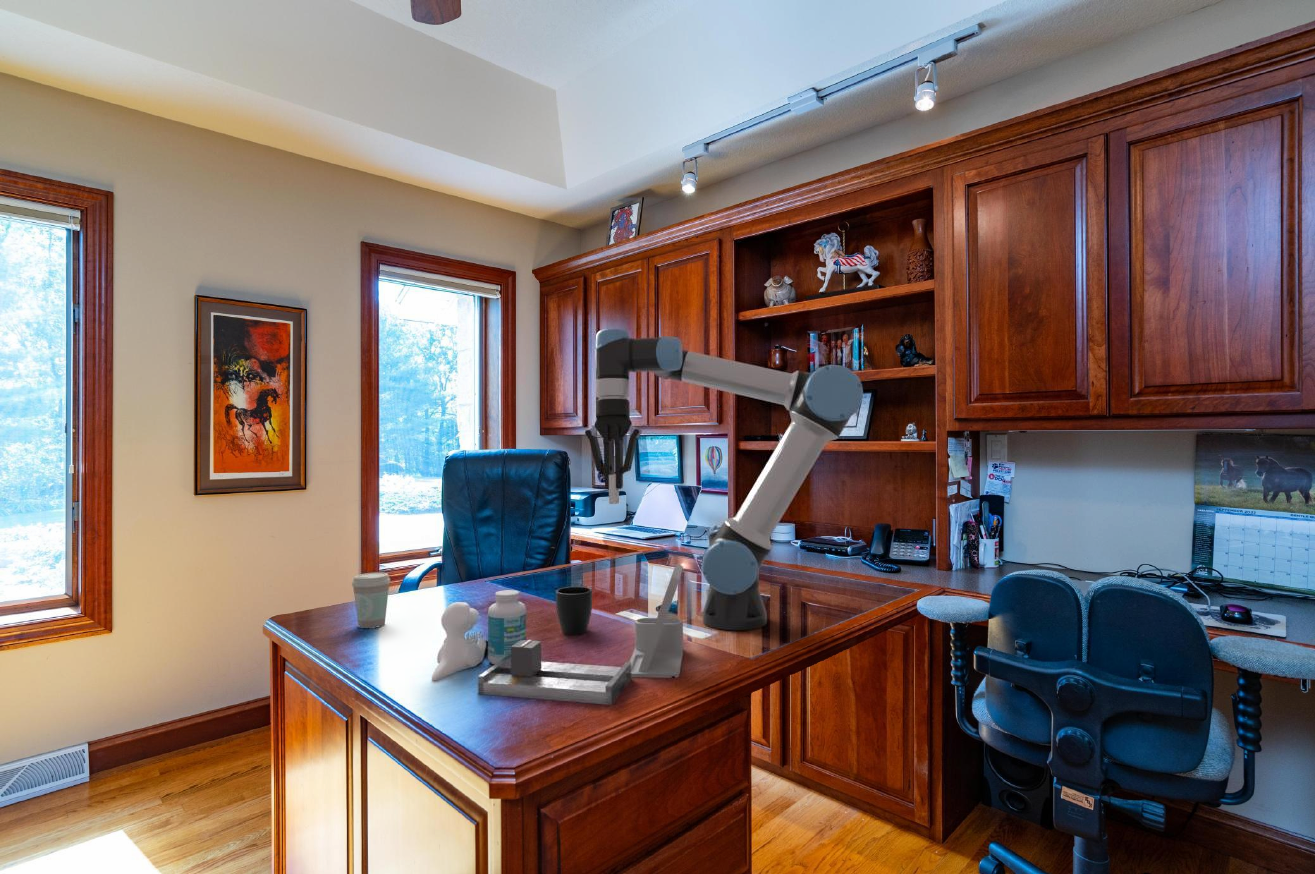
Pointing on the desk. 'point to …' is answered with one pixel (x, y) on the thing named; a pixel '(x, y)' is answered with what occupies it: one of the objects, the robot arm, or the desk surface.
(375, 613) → the coffee cup
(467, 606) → the figurine
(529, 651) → the block
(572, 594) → the mug
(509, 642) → the pill bottle
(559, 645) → the desk surface
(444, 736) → the desk surface
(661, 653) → the phone holder
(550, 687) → the console
